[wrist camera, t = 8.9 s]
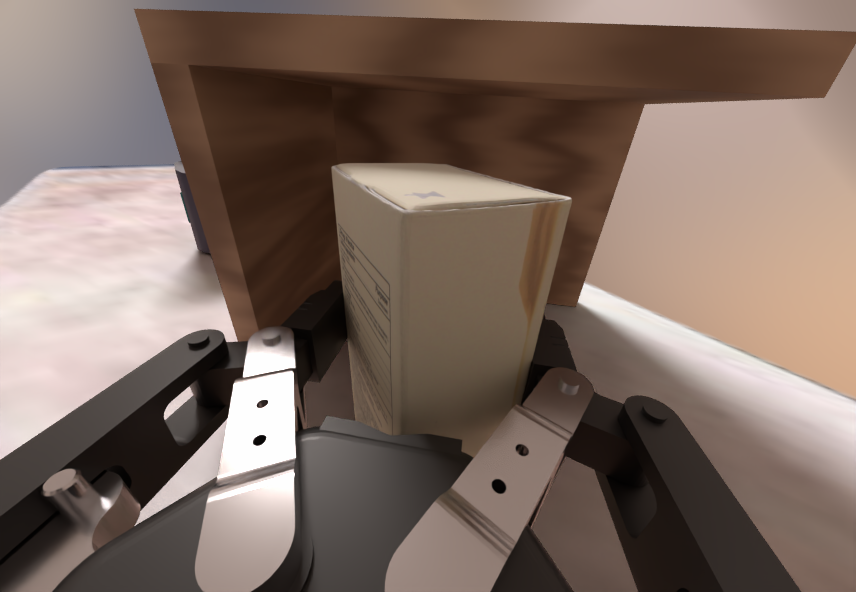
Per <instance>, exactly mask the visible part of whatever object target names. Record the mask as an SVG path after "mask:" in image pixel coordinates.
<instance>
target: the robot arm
mask: <svg viewBox="0 0 856 592" xmlns="http://www.w3.org/2000/svg"><path fill="white" fill-rule="evenodd" d="M346 339H347V328H346V317H345V307H344V296H343V286H342V281H340V280H334V281H333V282H332V283H331V284H330V285H329V286H328V287H327V288H326V289H325V290H320V291H318V292H316V293H314V294H312V295H310V296H309V297H308V298H307V299H306V300H305V301H304V303H302V304H301V305H300V306H299V307H298V309H296V310H295V311H294V312H293V313H292V314H291V315H290V316H289V317H288V319H287V320H286V321H285V322H284V323H283V324H282V325H281V326H272V327H267V328H264V329H261V330H259V331H257V332H256V333H254V334H253V335H252V336H251V337H250V339H249V341H241V342H226V340H225V337H224V334H223V333H222V332H220V331H218V330H210V329H209V330H201V331H196V332H193V333H191V334H188V335H186V336H184V337H183V338H181V339H179V340H178V341H176V342H175V343H173V344H172V345H170V346H169V347H168V348H166V349H165V350H163V351H162V352H160V353H159V354H157V355H156V356H154V357H153V358H151V359H150V360H148V361H147V362H145V363H144V364H142V365H141V366H139V367H138V368H136V369H135V370H133V371H132V372H130V373H129V374H127V375H126V376H124V377H123V378H121V379H120V380H118V381H117V382H115V383H114V384H112V385H111V386H110V387H108V388H107V389H105V390H104V391H102V392H101V393H99V394H98V395H96V396H95V397H93V398H92V399H90V400H89V401H87V402H86V403H84V404H83V405H81V406H80V407H78V408H77V409H75V410H74V411H72V412H71V413H69V414H68V415H66V416H65V417H63V418H62V419H60V420H59V421H57V422H56V423H55V424H53V425H52V426H50V427H49V428H47V429H46V430H44V431H43V432H41V433H40V434H38V435H37V436H35V437H34V438H32V439H31V440H29V441H28V442H26V443H25V444H23V445H22V446H20V447H19V448H17V449H16V450H14V451H13V452H11V453H10V454H8V455H7V456H5V457H4V458H2V459H1V460H0V592H574V591H573V590H572V588H571V587H570V585H569V584H568V582H567V581H566V579H565V578H564V576H563V575H562V574H561V572H560V571H559V569H558V568H557V566H556V565H555V563H554V562H553V560H552V559H551V557H550V556H549V554H548V553H547V551H546V550H545V548H544V547H543V546H542V544H541V543H540V541H539V540H538V538H537V537H536V535H535V534H534V532H533V531H532V529H531V528H532V526H533V524H534V522H535V520H536V518H537V516H538V514H539V511H540V509H541V507H542V505H543V503H544V501H545V499H546V496H547V494H548V492H549V490H550V488H551V486H552V484H553V482H554V480H555V478H556V476H557V474H558V472H559V470H560V468H561V466H562V464H563V462H564V460H565V458H566V456H567V457H569V458H571V459H573V460H575V461H577V462H579V463H582V464H584V465H586V466H588V467H590V468H592V469H594V470H595V472H596V475H597V478H598V481H599V484H600V486H601V489H602V492H603V495H604V497H605V500H606V503H607V506H608V509H609V511H610V514H611V517H612V520H613V522H614V525H615V528H616V531H617V534H618V536H619V539H620V542H621V545H622V547H623V550H624V553H625V556H626V559H627V561H628V564H629V567H630V570H631V572H632V575H633V578H634V581H635V584H636V586H637V589H638V592H801V591H800V589H799V588H798V586H797V585H796V584H795V582H794V581H793V579H792V578H791V576H790V575H789V574H788V572H787V571H786V569H785V568H784V566H783V565H782V564H781V562H780V561H779V559H778V558H777V556H776V555H775V554H774V552H773V551H772V549H771V548H770V546H769V545H768V544H767V542H766V541H765V539H764V538H763V536H762V535H761V534H760V532H759V531H758V529H757V528H756V526H755V525H754V524H753V522H752V521H751V519H750V518H749V516H748V515H747V514H746V512H745V511H744V509H743V508H742V506H741V505H740V504H739V502H738V501H737V499H736V498H735V496H734V495H733V494H732V492H731V491H730V489H729V488H728V486H727V485H726V484H725V482H724V481H723V479H722V478H721V476H720V475H719V474H718V472H717V471H716V469H715V468H714V466H713V465H712V464H711V462H710V461H709V459H708V458H707V456H706V455H705V454H704V452H703V451H702V449H701V448H700V446H699V445H698V444H697V442H696V441H695V439H694V438H693V436H692V435H691V434H690V432H689V431H688V429H687V428H686V426H685V425H684V424H683V422H682V421H681V419H680V418H679V417H678V415H677V414H676V413H675V412H674V411H673V410H671V409H670V408H669V407H668V406H666V405H665V404H663V403H661V402H659V401H657V400H655V399H652V398H649V397H646V396H631V397H629V398H627V400H626V401H625V403H624V404H622V403H619V402H616V401H614V400H611V399H608V398H606V397H603V396H601V395H599V394H597V393H595V392H594V389H593V386H592V384H591V383H590V381H589V380H588V379H587V378H586V377H584V376H583V375H582V374H580V373H578V372H577V370H576V367H575V364H574V361H573V358H572V355H571V352H570V349H569V348H568V344H567V341H566V338H565V335H564V332H563V329H562V328H561V327H560V326H559V325H558V324H557V323H556V322H555V321H553V320H546V319H545V316H544V315H543V319H542V323H541V327H540V330H539V334H538V339H537V343H536V347H535V351H534V355H533V359H532V363H531V367H530V371H529V374H528V379H527V383H526V387H525V391H524V394H523V398H522V401H521V405H519V404H516V405H515V406H514V407H513V408H512V409H511V410H510V412H509V413H508V414H507V416H506V417H505V418H504V420H503V421H502V422H501V423H500V425H499V426H498V427H497V429H496V430H495V431H494V432H493V434H492V435H491V436H490V438H489V439H488V440H487V442H486V443H485V444H484V445H483V447H482V448H481V449H480V451H479V452H478V453H477V454H476V456H475V457H472V456H470V455H468V454H466V453H464V452H462V451H461V450H462V440H461V439H455V438H449V437H444V436H438V435H433V434H411V435H388V434H386V433H384V432H381V431H379V430H377V429H375V428H372V427H370V426H368V425H366V424H364V423H361V422H359V421H354V420H348V419H343V418H337V417H332V416H326V418H325V420H324V421H323V423H322V425H321V426H319V427H312V428H307V415H306V401H305V390H304V385H305V384H306V382H307V381H313V382H320V381H321V379H322V377H323V376H324V374H325V373H326V371H327V370H328V368H329V366H330V365H331V363H332V362H333V360H334V358H335V357H336V355H337V354H338V352H339V351H340V349H341V347H342V346H343V344H344V343H345V341H346ZM189 386H190V388H191V390H192V392H193V396H192V397H191V398H190V399H189V400H188V401H187V402H185V403H184V404H183V405H182V406H181V407H180V408H179V409H177V410H176V411H175V412H174V413H173V414H172V415H171V416H169V417H168V418H167V419H166V420H164V411H165V409H166V407H167V406H168V404H169V403H170V402H171V401H172V400H173V399H175V398H176V397H177V396H178V395H179V394H181V393H182V392H183V391H184V390H185V389H186V388H188V387H189ZM227 418H228V421H227V427H226V433H225V438H224V444H223V450H222V455H221V461H220V466H219V472H218V477H216V478H214V479H213V480H211V481H209V482H208V483H206V484H204V485H203V486H201V487H199V488H198V489H196V490H194V491H193V492H191V493H189V494H188V495H186V496H184V497H183V498H181V499H179V500H178V501H176V502H174V503H173V504H171V505H169V506H168V507H166V508H164V509H163V510H161V511H159V512H158V513H156V514H154V515H152V516H151V517H149V518H147V519H146V520H144V521H142V522H141V523H139V524H137V525H136V526H135V524H136V522H137V520H138V518H139V515H140V511H141V510H142V509H143V508H144V507H145V506H146V505H147V503H148V502H149V501H150V500H151V499H152V498H153V497H154V496H155V495H156V494H157V493H158V492H159V491H160V490H161V489H162V487H163V486H164V485H165V484H166V483H167V482H168V481H169V480H170V479H171V478H172V477H173V476H174V475H175V474H176V473H177V472H178V470H179V469H180V468H181V467H182V466H183V465H184V464H185V463H186V462H187V461H188V460H189V459H190V458H191V457H192V456H193V455H194V453H195V452H196V451H197V450H198V449H199V448H200V447H201V446H202V445H203V444H204V443H205V442H206V441H207V440H208V439H209V437H210V436H211V435H212V434H213V433H214V432H215V431H216V430H217V429H218V428H219V427H220V426H221V425H222V424H223V423H224V422H225V420H226V419H227Z"/></svg>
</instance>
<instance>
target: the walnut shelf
mask: <svg viewBox="0 0 856 592" xmlns="http://www.w3.org/2000/svg"><path fill="white" fill-rule="evenodd" d="M134 10H135V13H136V17H137V20H138V23H139V26H140V30H141V33H142V35H143V39H144V42H145V46H146V49H147V52H148V55H149V58H150V62H151V65H152V68H153V71H154V74H155V77H156V81H157V84H158V87H159V90H160V93H161V96H162V100H163V103H164V106H165V109H166V112H167V116H168V119H169V122H170V125H171V128H172V132H173V135H174V138H175V141H176V144H177V147H178V151H179V154H180V157H181V161H182V164H183V167H184V170H185V173H186V177H187V180H188V183H189V186H190V189H191V193H192V196H193V199H194V202H195V205H196V209H197V212H198V215H199V218H200V221H201V225H202V228H203V231H204V234H205V237H206V240H207V244H208V247H209V250H210V253H211V256H212V260H213V263H214V266H215V269H216V272H217V276H218V279H219V282H220V285H221V288H222V292H223V295H224V298H225V301H226V304H227V308H228V311H229V314H230V317H231V320H232V324H233V327H234V330H235V333H236V336H237V340H238V342H241V341H249V339H250V337H251V336H252V335H253V334H254V333H256V332H257V331H259V330H261V329H264V328H267V327H272V326H281V325H282V324H283V323H284V322H285V321H286V320H287V319H288V317H289V316H290V315H291V314H292V313H293V312H294V311H295V310H296V309H298V307H299V306H300V305H301V304H302V303H304V301H305V300H306V299H307V298H308V297H309V296H310V295H312V294H314V293H316V292H318V291H320V290H325V289H326V288H327V287H328V286H329V285H330V284H331V283H332V282H333V281H334V280H340V281H342V275H341V265H340V254H339V244H338V233H337V223H336V212H335V202H334V191H333V180H332V166H335V165H339V164H345V163H430V164H447V165H450V166H454V167H457V168H461V169H464V170H469V171H472V172H475V173H480V174H483V175H487V176H491V177H493V178H498V179H502V180H505V181H509V182H513V183H517V184H522V185H524V186H528V187H532V188H534V189H540V190H543V191H547V192H549V193H554V194H558V195H562V196H567V197H570V198H571V199H572V204H571V207H570V211H569V215H568V219H567V223H566V227H565V231H564V235H563V239H562V243H561V247H560V251H559V255H558V259H557V263H556V267H555V270H554V275H553V278H552V282H551V287H550V291H549V295H548V298H547V302H546V303H549V304H557V305H565V306H573V307H576V305H577V302H578V299H579V296H580V293H581V290H582V287H583V284H584V281H585V278H586V275H587V272H588V269H589V267H590V264H591V260H592V258H593V255H594V252H595V249H596V246H597V243H598V240H599V237H600V234H601V231H602V228H603V225H604V222H605V219H606V217H607V213H608V211H609V207H610V205H611V202H612V199H613V196H614V193H615V190H616V187H617V184H618V181H619V178H620V175H621V172H622V169H623V166H624V163H625V161H626V158H627V155H628V152H629V148H630V146H631V143H632V140H633V137H634V134H635V131H636V128H637V125H638V122H639V119H640V116H641V113H642V111H643V108H644V105H645V104H662V103H663V104H664V103H691V102H717V101H718V102H719V101H747V100H774V99H802V98H824V97H825V96H826V94H827V92H828V91H829V89H830V87H831V85H832V84H833V82H834V80H835V79H836V77H837V75H838V73H839V72H840V70H841V68H842V67H843V65H844V63H845V61H846V60H847V58H848V56H849V54H850V52H851V51H852V49H853V48H854V46H855V44H856V32H847V31H846V32H845V31H815V30H782V29H753V28H752V29H750V28H721V27H689V26H686V27H685V26H657V25H626V24H593V23H564V22H561V23H560V22H532V21H501V20H469V19H436V18H406V17H375V16H374V17H373V16H372V17H371V16H343V15H340V16H339V15H312V14H280V13H248V12H217V11H186V10H185V11H184V10H154V9H134Z"/></svg>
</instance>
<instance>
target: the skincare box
mask: <svg viewBox="0 0 856 592" xmlns="http://www.w3.org/2000/svg"><path fill="white" fill-rule="evenodd" d="M332 180H333V191H334V202H335V212H336V223H337V233H338V244H339V254H340V265H341V275H342V286H343V296H344V307H345V317H346V328H347V338H348V349H349V359H350V370H351V380H352V391H353V402H354V412H355V421H359V422H361V423H364V424H366V425H368V426H370V427H372V428H375V429H377V430H379V431H381V432H384V433H386V434H388V435H411V434H433V435H438V436H444V437H449V438H455V439H461V440H462V450H461V451H462V452H464V453H466V454H468V455H470V456H472V457H475V456H476V454H477V453H478V452H479V451H480V449H481V448H482V447H483V445H484V444H485V443H486V442H487V440H488V439H489V438H490V436H491V435H492V434H493V432H494V431H495V430H496V429H497V427H498V426H499V425H500V423H501V422H502V421H503V420H504V418H505V417H506V416H507V414H508V413H509V412H510V410H511V409H512V408H513V407H514V406H515V405H516V404H519V405H521V401H522V398H523V394H524V391H525V387H526V383H527V379H528V374H529V371H530V367H531V363H532V359H533V355H534V351H535V347H536V343H537V339H538V334H539V330H540V327H541V323H542V319H543V315H544V311H545V306H546V302H547V298H548V295H549V291H550V287H551V282H552V278H553V275H554V270H555V267H556V263H557V259H558V255H559V251H560V247H561V243H562V239H563V235H564V231H565V227H566V223H567V219H568V215H569V211H570V207H571V204H572V199H571V198H570V197H567V196H562V195H558V194H554V193H549V192H547V191H543V190H540V189H534V188H532V187H528V186H524V185H522V184H517V183H513V182H509V181H505V180H502V179H498V178H493V177H491V176H487V175H483V174H480V173H475V172H472V171H469V170H464V169H461V168H457V167H454V166H450V165H447V164H430V163H345V164H339V165H335V166H332Z"/></svg>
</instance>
